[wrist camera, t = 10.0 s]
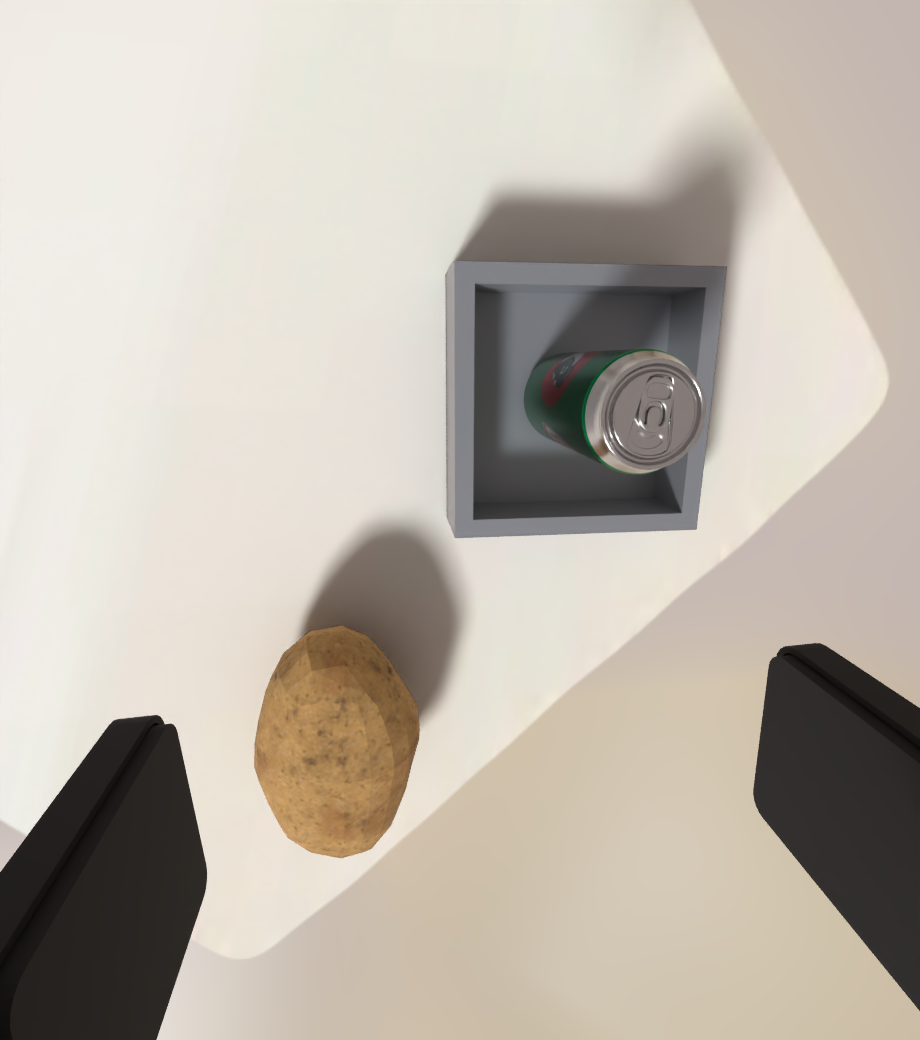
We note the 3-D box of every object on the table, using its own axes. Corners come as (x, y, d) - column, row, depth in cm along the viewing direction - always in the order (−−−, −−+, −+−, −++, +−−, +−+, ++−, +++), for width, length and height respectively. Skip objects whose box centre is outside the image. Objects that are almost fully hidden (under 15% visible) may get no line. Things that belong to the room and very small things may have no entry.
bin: (445, 274, 32) (454, 260, 28) (683, 278, 34) (726, 266, 29) (446, 516, 36) (455, 538, 31) (660, 510, 37) (696, 529, 33)
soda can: (515, 436, 34) (581, 474, 23) (527, 347, 33) (603, 340, 21) (596, 444, 35) (700, 484, 23) (611, 357, 33) (728, 355, 22)
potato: (417, 593, 37) (425, 655, 29) (415, 778, 41) (422, 875, 33) (260, 597, 36) (225, 661, 28) (273, 787, 39) (246, 889, 32)
